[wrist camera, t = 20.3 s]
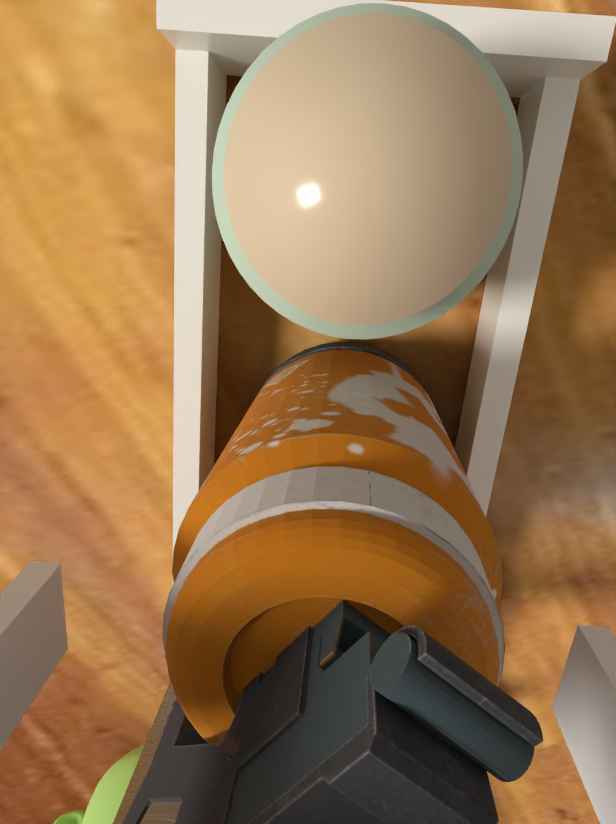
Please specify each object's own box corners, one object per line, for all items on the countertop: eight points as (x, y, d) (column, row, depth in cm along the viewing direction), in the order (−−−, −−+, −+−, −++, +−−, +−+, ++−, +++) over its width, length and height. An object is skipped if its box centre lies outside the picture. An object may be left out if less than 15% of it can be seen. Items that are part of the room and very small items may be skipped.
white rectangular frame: (199, 39, 22) (156, -16, 17) (557, 65, 21) (617, 16, 16) (187, 663, 32) (159, 737, 27) (429, 694, 31) (443, 776, 27)
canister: (473, 419, 26) (800, 925, 7) (327, 565, 29) (276, 1180, 10) (331, 299, 25) (255, 514, 6) (195, 465, 28) (-143, 953, 9)
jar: (274, 95, 22) (203, -33, 12) (467, 111, 22) (576, -7, 11) (262, 291, 25) (195, 332, 14) (435, 307, 24) (500, 362, 14)
